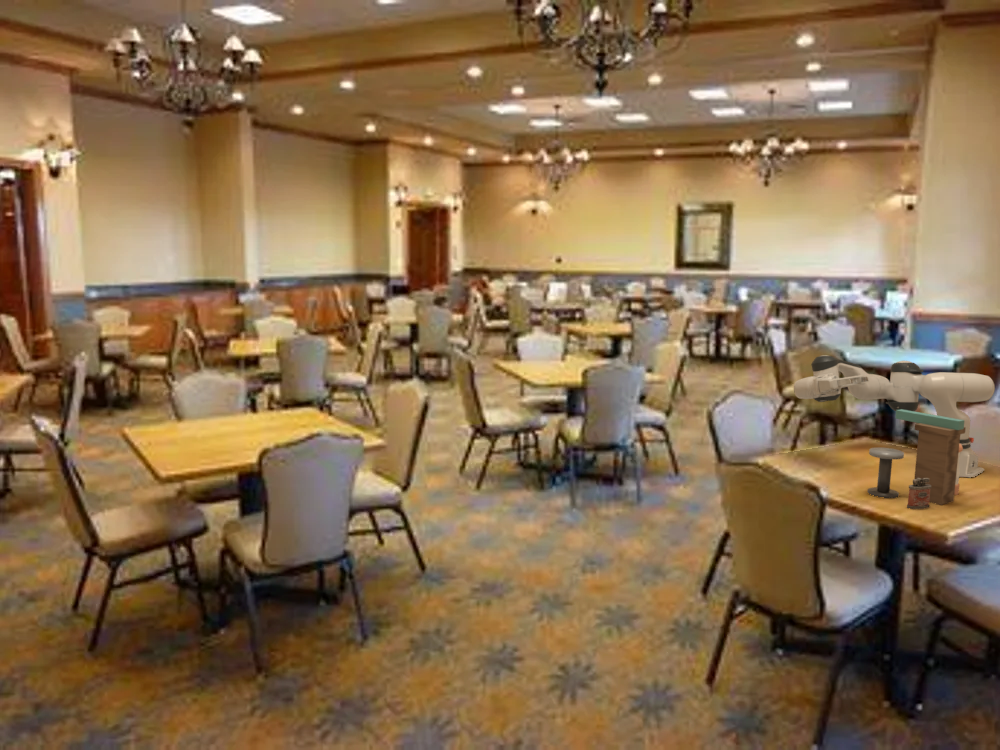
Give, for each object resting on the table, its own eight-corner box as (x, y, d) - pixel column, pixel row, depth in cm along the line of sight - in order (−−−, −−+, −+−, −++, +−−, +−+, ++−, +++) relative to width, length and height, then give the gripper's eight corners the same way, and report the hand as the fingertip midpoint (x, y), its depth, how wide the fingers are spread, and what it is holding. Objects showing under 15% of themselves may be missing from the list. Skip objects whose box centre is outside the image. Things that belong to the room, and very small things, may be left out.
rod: (900, 417, 299) (901, 409, 299) (963, 429, 282) (964, 420, 281) (895, 418, 297) (896, 410, 297) (958, 430, 280) (959, 421, 279)
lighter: (911, 509, 279) (914, 480, 277) (904, 506, 282) (907, 477, 280) (931, 508, 281) (934, 478, 279) (924, 504, 284) (927, 476, 282)
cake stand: (877, 488, 303) (880, 446, 301) (906, 495, 294) (910, 452, 292) (859, 492, 297) (862, 449, 295) (888, 500, 288) (892, 456, 286)
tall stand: (923, 493, 298) (930, 421, 294) (958, 501, 288) (965, 427, 284) (908, 497, 292) (915, 424, 288) (942, 506, 283) (950, 430, 279)
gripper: (848, 390, 335) (878, 385, 323) (813, 395, 324) (843, 391, 312) (845, 374, 335) (875, 369, 323) (810, 379, 325) (840, 374, 313)
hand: (859, 380), depth 318 cm, fingers open, 8 cm apart
